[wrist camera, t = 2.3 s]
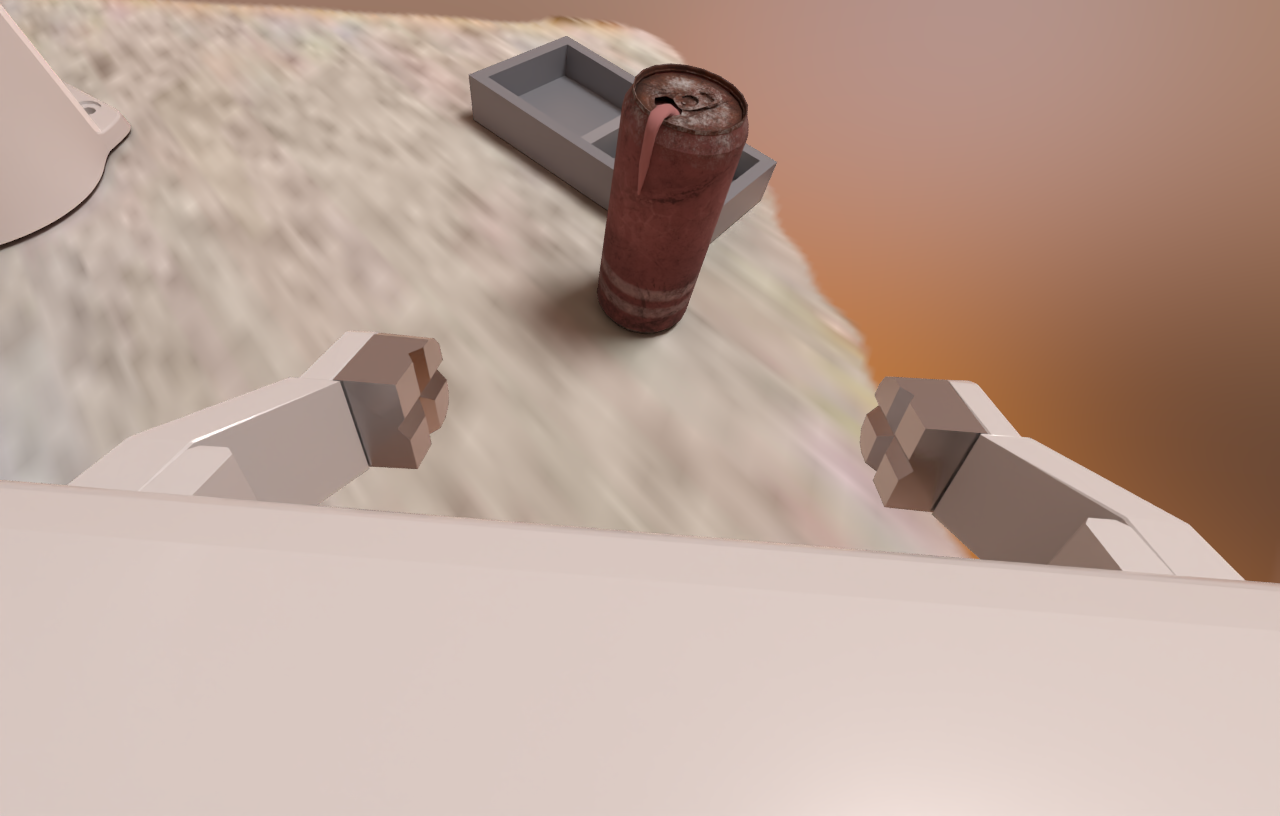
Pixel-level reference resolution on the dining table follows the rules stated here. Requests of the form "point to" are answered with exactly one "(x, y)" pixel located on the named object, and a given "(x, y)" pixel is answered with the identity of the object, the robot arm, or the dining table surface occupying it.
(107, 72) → the dining table surface
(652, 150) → the can
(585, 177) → the tray
